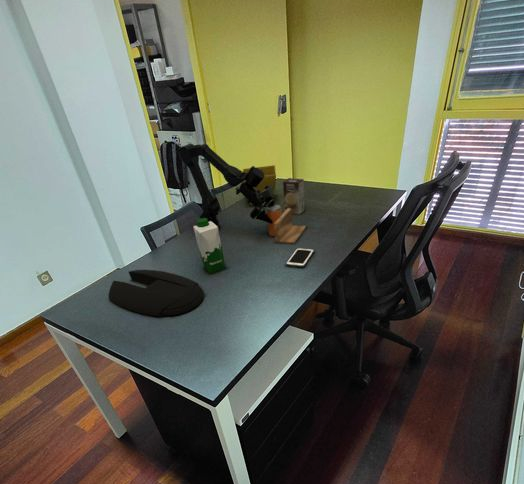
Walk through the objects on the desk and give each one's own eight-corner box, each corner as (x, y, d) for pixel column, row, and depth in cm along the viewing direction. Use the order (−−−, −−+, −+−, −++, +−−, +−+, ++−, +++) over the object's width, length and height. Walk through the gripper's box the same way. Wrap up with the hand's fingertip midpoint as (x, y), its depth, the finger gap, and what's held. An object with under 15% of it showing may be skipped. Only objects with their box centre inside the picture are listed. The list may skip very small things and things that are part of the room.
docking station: (174, 326, 110) (169, 314, 107) (99, 300, 129) (94, 289, 126) (219, 289, 125) (216, 277, 122) (146, 270, 144) (142, 260, 141)
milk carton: (220, 260, 143) (210, 215, 130) (228, 268, 137) (219, 221, 124) (201, 267, 141) (189, 221, 128) (209, 275, 134) (197, 228, 121)
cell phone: (285, 266, 133) (285, 263, 132) (297, 249, 143) (297, 247, 142) (303, 268, 130) (303, 265, 129) (314, 251, 140) (314, 249, 139)
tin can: (267, 236, 157) (264, 210, 149) (270, 231, 161) (267, 205, 153) (281, 236, 155) (279, 209, 147) (283, 230, 160) (281, 204, 152)
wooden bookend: (275, 242, 151) (274, 223, 145) (288, 226, 163) (287, 208, 157) (294, 243, 148) (293, 224, 142) (306, 227, 160) (305, 208, 154)
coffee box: (284, 213, 178) (282, 181, 167) (289, 208, 182) (288, 177, 171) (299, 214, 173) (298, 182, 163) (304, 210, 177) (304, 178, 167)
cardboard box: (278, 205, 188) (275, 173, 177) (245, 209, 189) (240, 178, 179) (277, 194, 202) (275, 165, 192) (247, 198, 204) (242, 168, 193)
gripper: (253, 187, 138) (279, 215, 141) (269, 174, 151) (293, 199, 154) (239, 206, 146) (264, 231, 149) (255, 192, 159) (278, 215, 162)
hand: (276, 219), depth 153 cm, fingers open, 9 cm apart
